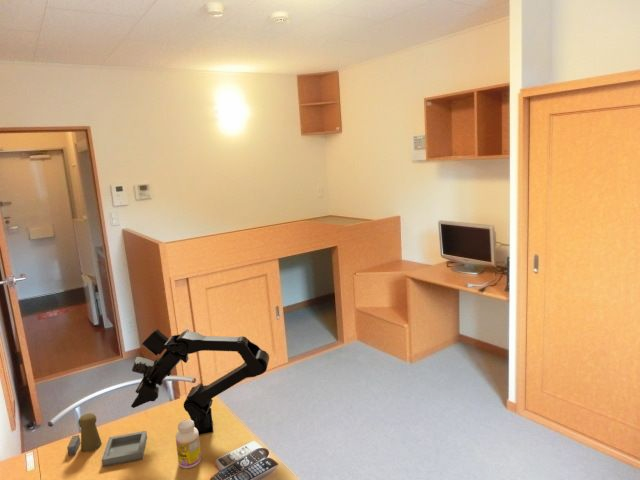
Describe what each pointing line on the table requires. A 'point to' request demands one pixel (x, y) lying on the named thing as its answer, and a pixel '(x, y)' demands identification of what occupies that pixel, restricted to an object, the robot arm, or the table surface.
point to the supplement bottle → (188, 444)
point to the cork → (89, 433)
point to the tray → (124, 448)
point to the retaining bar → (73, 445)
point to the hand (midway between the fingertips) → (134, 399)
